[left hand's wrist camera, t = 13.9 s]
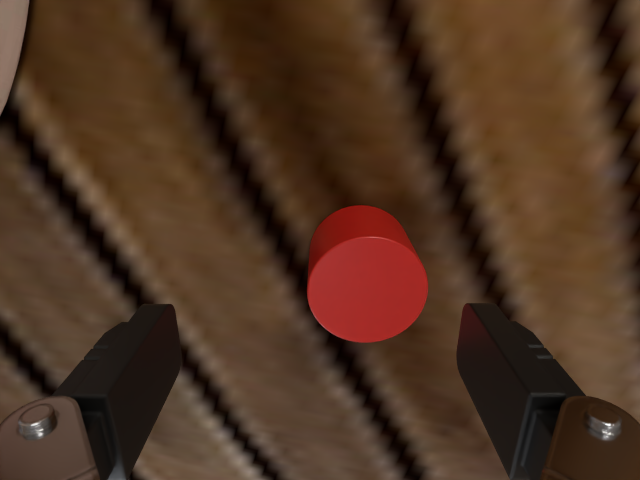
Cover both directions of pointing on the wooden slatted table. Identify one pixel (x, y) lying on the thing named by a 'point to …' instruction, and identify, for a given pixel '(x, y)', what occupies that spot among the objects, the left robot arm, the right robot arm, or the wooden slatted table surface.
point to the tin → (364, 275)
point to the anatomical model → (10, 42)
